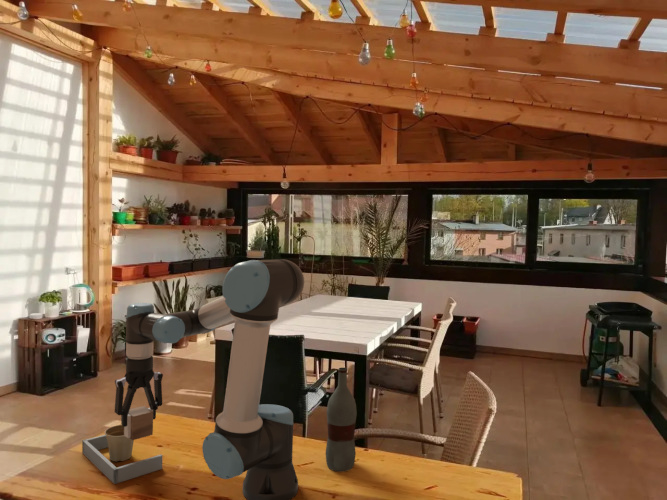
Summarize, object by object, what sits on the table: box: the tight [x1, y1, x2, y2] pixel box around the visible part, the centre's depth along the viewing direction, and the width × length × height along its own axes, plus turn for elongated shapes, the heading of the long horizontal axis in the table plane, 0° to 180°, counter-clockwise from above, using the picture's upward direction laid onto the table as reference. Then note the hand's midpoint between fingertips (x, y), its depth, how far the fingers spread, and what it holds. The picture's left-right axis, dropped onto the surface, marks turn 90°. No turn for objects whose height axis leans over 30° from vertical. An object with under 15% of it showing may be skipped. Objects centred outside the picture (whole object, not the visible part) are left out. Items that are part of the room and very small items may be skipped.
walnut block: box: [128, 405, 154, 441], centre depth 152 cm, size 6×6×7 cm
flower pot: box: [104, 424, 135, 462], centre depth 158 cm, size 9×9×9 cm
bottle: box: [325, 367, 358, 473], centre depth 156 cm, size 9×9×30 cm
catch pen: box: [81, 434, 163, 485], centre depth 156 cm, size 26×14×4 cm, turn 44°
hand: (138, 433), depth 152 cm, fingers closed on walnut block, 6 cm apart
